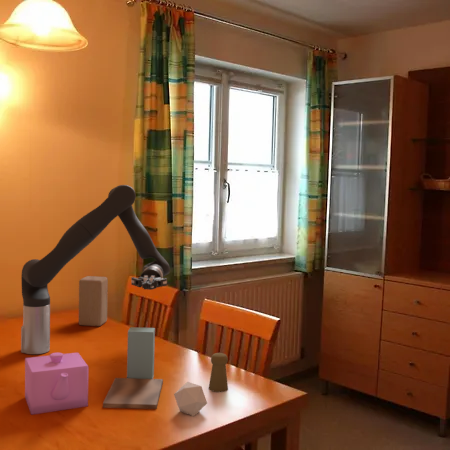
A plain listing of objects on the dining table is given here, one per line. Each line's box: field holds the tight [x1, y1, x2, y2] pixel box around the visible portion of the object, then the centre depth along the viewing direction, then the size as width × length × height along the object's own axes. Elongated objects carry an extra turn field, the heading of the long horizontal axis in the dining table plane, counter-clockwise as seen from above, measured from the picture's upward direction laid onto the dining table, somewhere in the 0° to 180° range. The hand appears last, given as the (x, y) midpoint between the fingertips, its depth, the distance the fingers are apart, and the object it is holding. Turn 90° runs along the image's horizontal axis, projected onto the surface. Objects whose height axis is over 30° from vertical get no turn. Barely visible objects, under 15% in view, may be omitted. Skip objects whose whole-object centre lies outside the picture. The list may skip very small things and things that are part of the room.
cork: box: [208, 352, 229, 393], centre depth 175 cm, size 6×6×11 cm
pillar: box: [126, 326, 156, 379], centre depth 181 cm, size 8×5×16 cm, turn 91°
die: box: [173, 381, 208, 417], centre depth 157 cm, size 8×9×10 cm
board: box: [102, 377, 164, 410], centre depth 168 cm, size 15×20×1 cm
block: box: [78, 275, 109, 327], centre depth 245 cm, size 10×10×20 cm
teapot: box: [24, 352, 89, 415], centre depth 160 cm, size 15×25×14 cm, turn 26°
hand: (146, 286), depth 189 cm, fingers closed
